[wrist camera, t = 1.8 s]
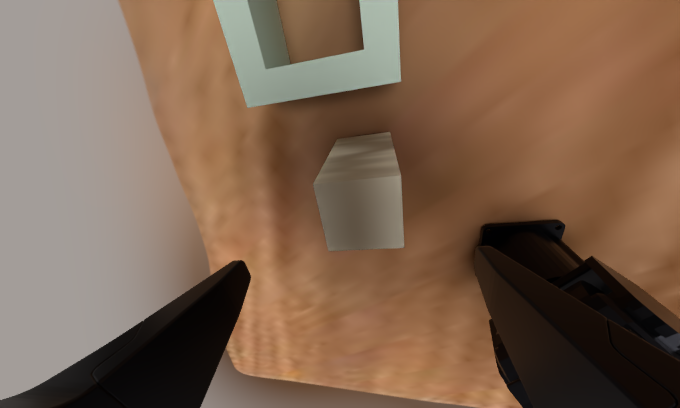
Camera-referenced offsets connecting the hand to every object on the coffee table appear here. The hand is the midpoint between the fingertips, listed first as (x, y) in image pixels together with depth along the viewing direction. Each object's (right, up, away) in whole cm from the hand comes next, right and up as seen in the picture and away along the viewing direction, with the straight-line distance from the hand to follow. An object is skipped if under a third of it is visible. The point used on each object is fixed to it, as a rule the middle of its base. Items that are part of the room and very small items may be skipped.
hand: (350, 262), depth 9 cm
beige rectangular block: (+2, +6, +11) cm, 13 cm away
